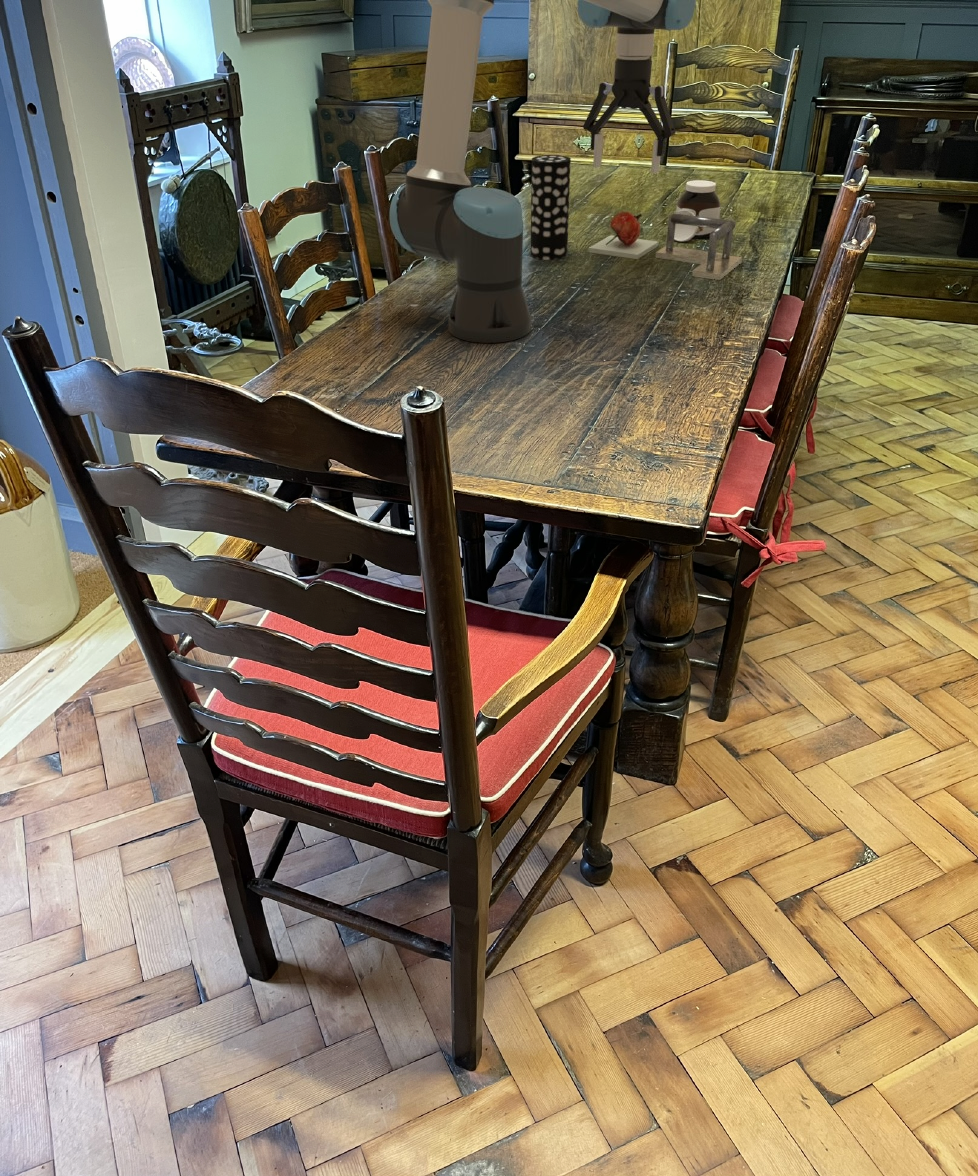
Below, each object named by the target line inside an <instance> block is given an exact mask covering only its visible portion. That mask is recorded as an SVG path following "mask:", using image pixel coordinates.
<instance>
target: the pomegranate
mask: <svg viewBox="0 0 978 1176" xmlns="http://www.w3.org/2000/svg"><path fill="white" fill-rule="evenodd" d="M640 217H643V214H641V213H640V214H637V215H633V213H630V212H628V211H620V212H618V213H616V214H615V215H614V216H613V218H612V219H611V221H610V223H609V224H610V228H611V229H612V231H613V232H614V233H615V235H614V236H615V237H614V238H613V239H612V240H610V241H609V242H608V243H607V244H609V243H610V242H612V241H613V240H614V239H615V238H616V237H618V239H619V240H620V241H621V242H622V243H624V244H625V245H631V244H633V243H634V242H635V241H636V240H637V239H639V237H640V235H641V229H642V228H641V224H640V222H639V219H640ZM607 244H606V245H607Z"/></svg>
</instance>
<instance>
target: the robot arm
mask: <svg viewBox="0 0 978 1176" xmlns="http://www.w3.org/2000/svg"><path fill="white" fill-rule="evenodd" d="M427 2H428V3H429V5H430V7H431V13H430V14H431V16H430V25H429V35H428V47H427V55H426V64H425V65H426V66H425V75H424V84H423V95H422V103H421V104H422V105H421V114H420V124H419V132H418V133H419V134H418V144H417V154H416V163H415V165H414V166H413V167H412V168H411V169H409V170H408V172H407V173H406V177H405V185H402V186H401V187H400V188H398V189H397V191H396V194H395V195H393V197H392V200H391V201H390V202H391V203H390V208H389V225H390V229H391V231H392V234H393V236H394V237H395V239H396V240H397V242H398V243H399V245H400V246H401V247H402V248H404V250H405V249H406V250H407V251H408V252H412V253H414V254H416V255H418V256H420V257H425V258H426V257H427V258H432V259H435V260H439V261H441V262H442V261H443V262H446V263H450V264H453V265H455V268H456V290H455V293H454V297H453V300H452V305H451V308H450V311H449V315H448V331H449V333H450V334H451V335H452V336H454V337H455V338H456V339H457V338H458V339H460V340H464V341H467V342H472V343H481V344H484V343H486V344H491V343H492V344H495V343H496V344H497V343H506V342H510V341H515V340H518V339H521V338H524V337H525V336H527V335H528V334H530V332H531V331H532V315H531V311H530V309H529V306H528V303H527V302H528V301H527V299H526V295H525V292H524V288H523V247H524V246H523V243H524V221H523V220H524V219H523V209H522V205H521V201H519V199H518V198H517V197H516V196H515V195H513V194H512V193H510V192H508V191H505V190H502V189H498V188H493V187H488V188H486V187H485V186H473V187H472V186H471V185H472V183H471V181H470V179H469V178H468V176H467V175H466V171H465V167H466V157H467V150H468V149H467V148H468V141H469V135H470V134H469V133H470V125H471V118H472V109H473V102H474V93H475V84H476V77H477V67H478V61H479V59H478V58H479V53H480V44H481V37H482V36H481V35H482V29H483V28H482V27H483V20H484V19H483V18H484V17H485V16H486V14H488V13H489V12H490V11H491V10H492V9H493V8H494V5H495V0H427ZM696 4H697V0H577V14H578V16H579V19H580V21H581V22H582V23H583V24H584V25H585V26H586V27H590V28H598V29H602V28H604V27H610V28H611V27H612V28H617V30H616V42H615V55H616V56H617V57H618V58H616V59H615V61H614V73H613V74H614V75H613V79H614V81H613V84H612V83H610V82H608V81H603V82H600V84H599V86H598V92H597V96H596V98H595V101H594V102H593V105H592V107H591V109H590V111H589V112H588V115H587V117H586V119H585V122H584V123H583V127H582V128H583V130H584V131H588V132H589V133H590V150H591V151H593V160H592V161H593V164H592V167H593V168H599V167H601V166H602V163H603V147H604V145H603V144H604V132H601V130H602V129H603V128H604V126H605V125H606V124H607V123H608V122H609V121H610V119H611V118H612V117H613V115H614V114H615V113H616V111H617V110H618V109H619V108H621V109H628V108H629V109H631V110H637V109H639V111H640V112H641V113H642V114H643V116H644V118H645V119H646V121H647V123H648V124H649V127H650V128H651V130H652V132H654V134H655V136H656V138H655V139H653V145H652V154H651V158H652V159H651V168H650V174H656V173H658V172H660V166H661V165H660V163H661V157H662V156H664V155H665V154H666V144H667V139H668V138H671V137H673V136H675V135H676V129H675V126H674V122H673V119H672V116H671V113H670V109H669V107H668V104H667V100H666V97H665V95H666V93H665V91H666V89H665V86H664V85H663V84H661V85H657V86H651V78H652V67H653V60H652V59H651V58H650V57H651V56H653V53H654V52H653V51H654V41H655V40H654V39H655V30H662V31H663V30H665V31H667V32H670V31H682V30H684V29H685V28H687V27H688V26H689V25H690V24H691V21H692V20H693V18H694V15H695V11H696V9H695V8H696ZM611 93H612V94H613V96H614V98H613V99H612V101H611V102H610V103H609V105H608V107H607V108H606V109H605V111H604V112H602V114H601V116H600V117H599V115H600V112H601V110H602V109H603V106H604V103H605V102H606V100H607V98H608V95H610V94H611ZM650 95H651V96H652V98H654V101H655V105H656V108H657V111H658V114H659V117H658V116H657V115H656V113H655V111H654V109H653V108H652V105H651V102H650V101H649V99H648V98H649V97H650ZM598 117H599V118H598ZM659 118H660V119H659ZM597 119H598V120H597ZM660 120H661V121H660Z"/></svg>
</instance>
